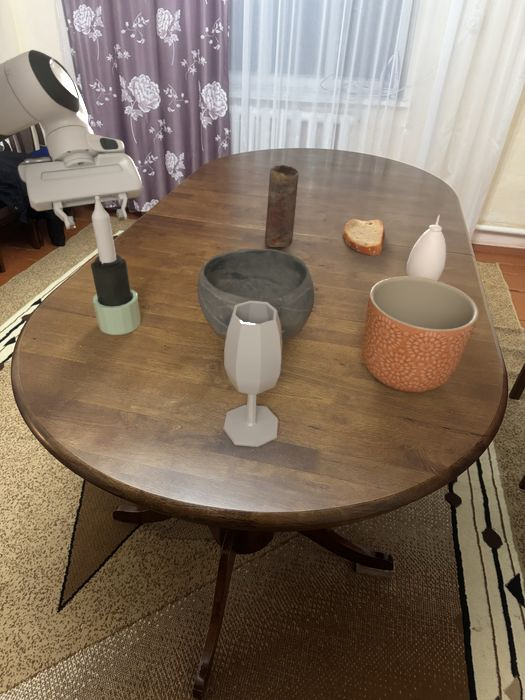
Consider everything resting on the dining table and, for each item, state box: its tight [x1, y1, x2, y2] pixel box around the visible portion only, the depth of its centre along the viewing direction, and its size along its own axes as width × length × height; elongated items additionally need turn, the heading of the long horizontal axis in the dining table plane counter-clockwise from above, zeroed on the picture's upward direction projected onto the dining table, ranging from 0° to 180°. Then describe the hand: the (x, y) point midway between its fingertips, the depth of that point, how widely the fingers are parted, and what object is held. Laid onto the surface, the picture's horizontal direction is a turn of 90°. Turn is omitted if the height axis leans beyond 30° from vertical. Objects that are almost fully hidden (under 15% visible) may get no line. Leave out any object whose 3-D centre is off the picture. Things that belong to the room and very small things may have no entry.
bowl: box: [197, 248, 315, 344], centre depth 87 cm, size 21×21×15 cm
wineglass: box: [222, 301, 284, 448], centre depth 66 cm, size 9×9×21 cm
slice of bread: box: [342, 218, 386, 257], centre depth 131 cm, size 18×18×4 cm
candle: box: [90, 196, 132, 307], centre depth 85 cm, size 5×5×25 cm
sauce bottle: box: [405, 214, 447, 281], centre depth 104 cm, size 8×8×18 cm
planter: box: [361, 275, 480, 393], centre depth 79 cm, size 17×17×15 cm
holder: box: [92, 288, 142, 336], centre depth 92 cm, size 8×8×6 cm
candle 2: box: [264, 164, 300, 249], centre depth 120 cm, size 8×7×20 cm
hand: (97, 223), depth 86 cm, fingers open, 8 cm apart
